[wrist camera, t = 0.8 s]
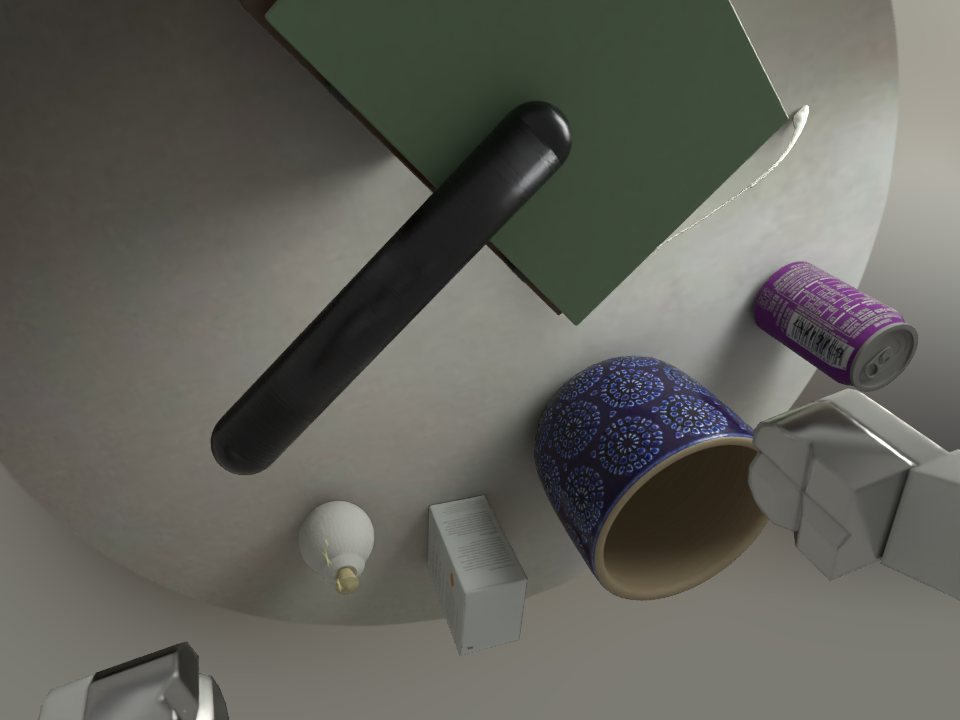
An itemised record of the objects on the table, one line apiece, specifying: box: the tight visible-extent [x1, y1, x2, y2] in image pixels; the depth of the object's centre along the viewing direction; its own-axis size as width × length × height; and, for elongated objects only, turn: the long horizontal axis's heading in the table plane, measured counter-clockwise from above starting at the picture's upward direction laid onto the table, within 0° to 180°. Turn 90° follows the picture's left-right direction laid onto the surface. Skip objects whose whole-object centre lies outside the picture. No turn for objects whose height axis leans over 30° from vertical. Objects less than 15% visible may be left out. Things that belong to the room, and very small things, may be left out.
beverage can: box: [754, 262, 918, 392], centre depth 58 cm, size 7×7×12 cm
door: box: [211, 0, 789, 475], centre depth 19 cm, size 20×13×3 cm, turn 132°
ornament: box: [299, 501, 374, 594], centre depth 53 cm, size 6×7×10 cm
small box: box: [427, 495, 528, 656], centre depth 60 cm, size 8×6×10 cm
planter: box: [534, 356, 769, 600], centre depth 57 cm, size 16×17×15 cm
